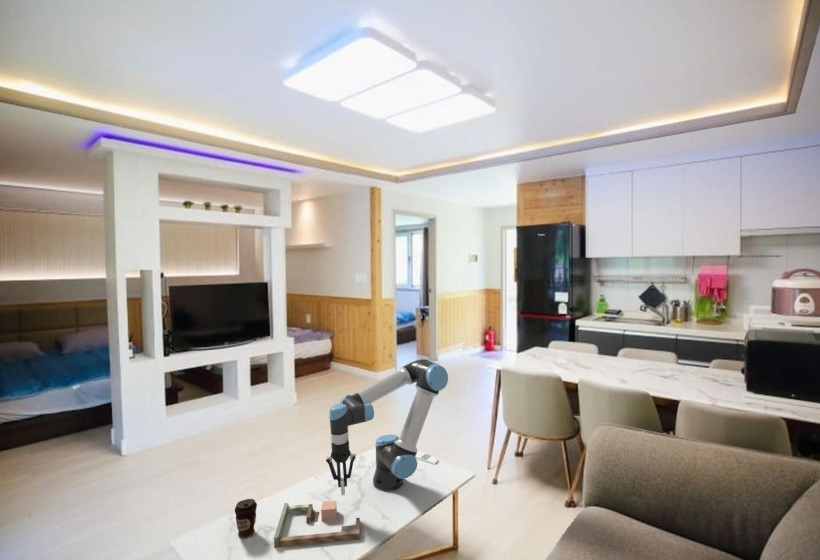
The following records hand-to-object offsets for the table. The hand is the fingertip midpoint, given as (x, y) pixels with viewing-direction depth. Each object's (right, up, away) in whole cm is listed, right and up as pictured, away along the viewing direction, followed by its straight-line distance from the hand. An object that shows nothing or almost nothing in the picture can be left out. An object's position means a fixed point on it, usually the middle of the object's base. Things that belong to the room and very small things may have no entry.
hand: (343, 493), depth 179 cm
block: (-6, -10, -1) cm, 11 cm away
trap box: (-9, -10, -6) cm, 15 cm away
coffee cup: (-38, -11, -11) cm, 41 cm away
